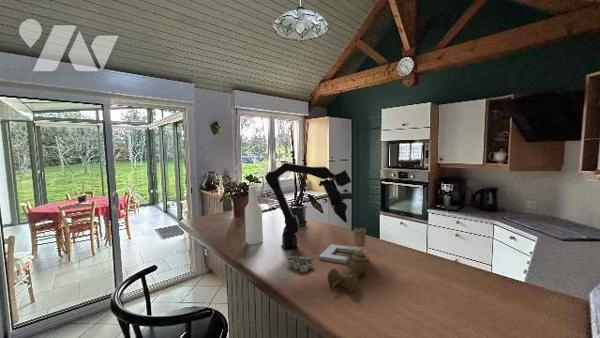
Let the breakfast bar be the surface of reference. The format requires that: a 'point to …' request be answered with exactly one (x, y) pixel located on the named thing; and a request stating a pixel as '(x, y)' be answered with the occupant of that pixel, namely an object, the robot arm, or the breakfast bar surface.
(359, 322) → the breakfast bar surface
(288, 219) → the robot arm
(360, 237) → the bobbin
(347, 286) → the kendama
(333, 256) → the notched board
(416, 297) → the breakfast bar surface
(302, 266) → the egg carton
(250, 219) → the alcohol
